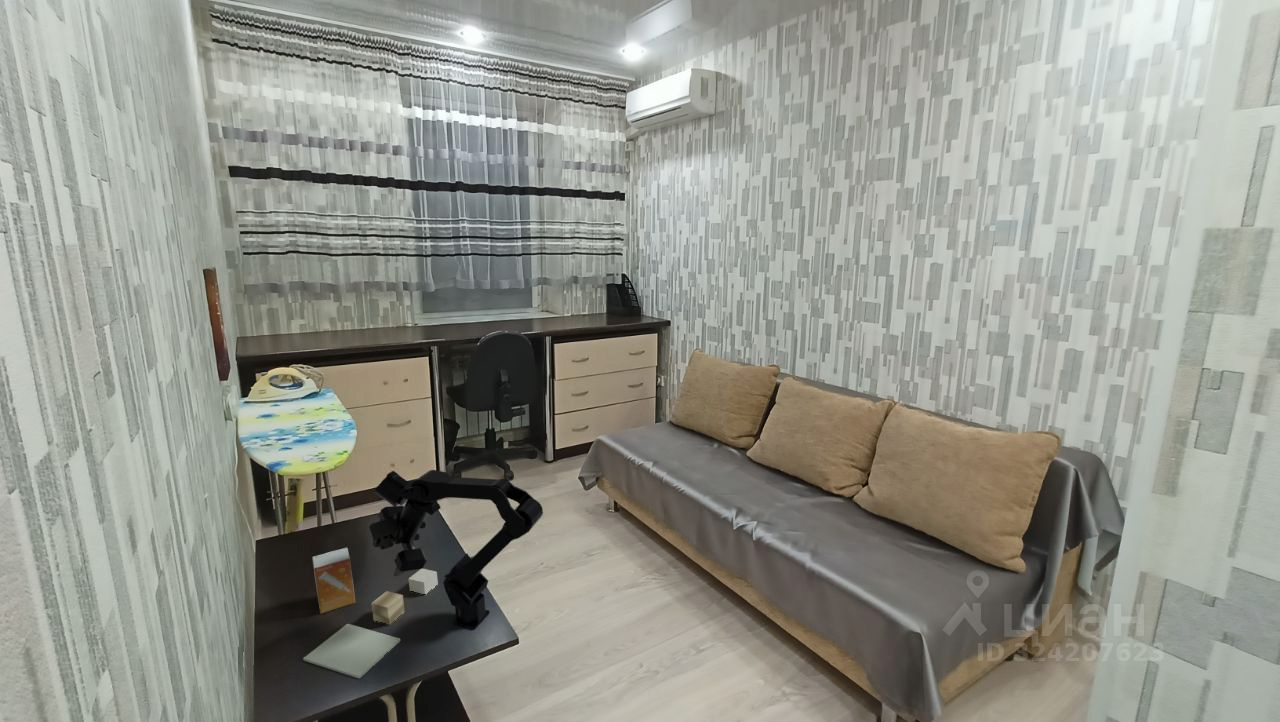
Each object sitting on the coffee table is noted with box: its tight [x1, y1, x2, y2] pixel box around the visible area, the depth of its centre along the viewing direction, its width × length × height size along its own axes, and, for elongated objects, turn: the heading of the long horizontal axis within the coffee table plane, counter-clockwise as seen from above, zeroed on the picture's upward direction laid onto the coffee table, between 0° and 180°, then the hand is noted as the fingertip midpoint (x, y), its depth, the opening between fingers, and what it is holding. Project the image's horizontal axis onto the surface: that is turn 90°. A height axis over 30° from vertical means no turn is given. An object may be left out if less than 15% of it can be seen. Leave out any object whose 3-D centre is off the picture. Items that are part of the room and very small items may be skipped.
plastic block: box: [408, 568, 439, 595], centre depth 148 cm, size 5×5×4 cm
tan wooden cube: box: [370, 590, 405, 626], centre depth 137 cm, size 5×5×5 cm
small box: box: [311, 547, 356, 614], centre depth 142 cm, size 8×6×13 cm
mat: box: [303, 623, 401, 679], centre depth 126 cm, size 16×12×1 cm
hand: (390, 561), depth 139 cm, fingers open, 9 cm apart
